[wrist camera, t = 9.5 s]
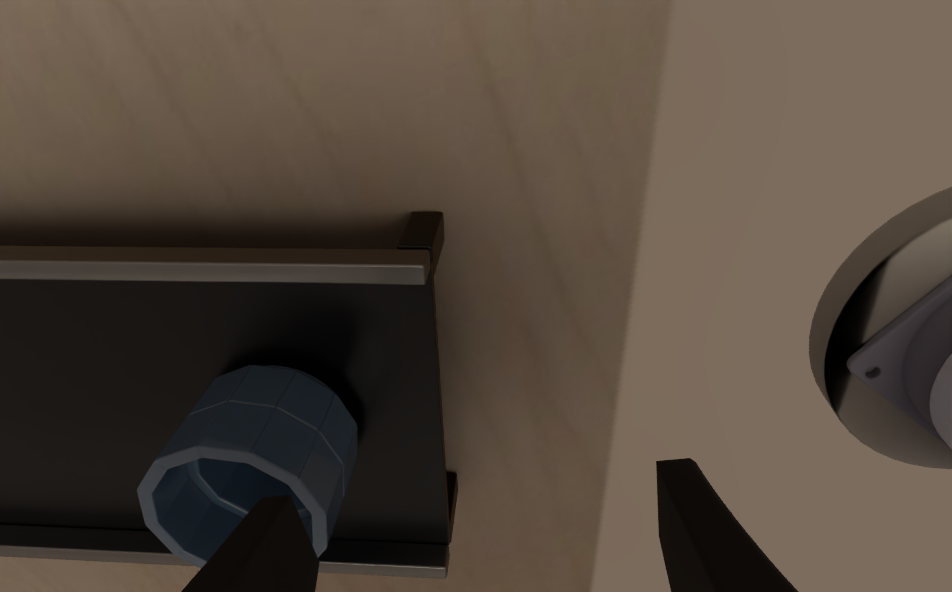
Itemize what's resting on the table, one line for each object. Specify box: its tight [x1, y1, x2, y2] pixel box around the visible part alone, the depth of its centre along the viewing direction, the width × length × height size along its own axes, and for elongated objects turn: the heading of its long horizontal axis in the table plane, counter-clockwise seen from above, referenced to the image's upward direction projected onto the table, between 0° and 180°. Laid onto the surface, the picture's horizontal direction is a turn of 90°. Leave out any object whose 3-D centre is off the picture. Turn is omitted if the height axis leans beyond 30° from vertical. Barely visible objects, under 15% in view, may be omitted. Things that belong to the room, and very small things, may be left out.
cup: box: [137, 365, 358, 568], centre depth 18 cm, size 5×5×4 cm
